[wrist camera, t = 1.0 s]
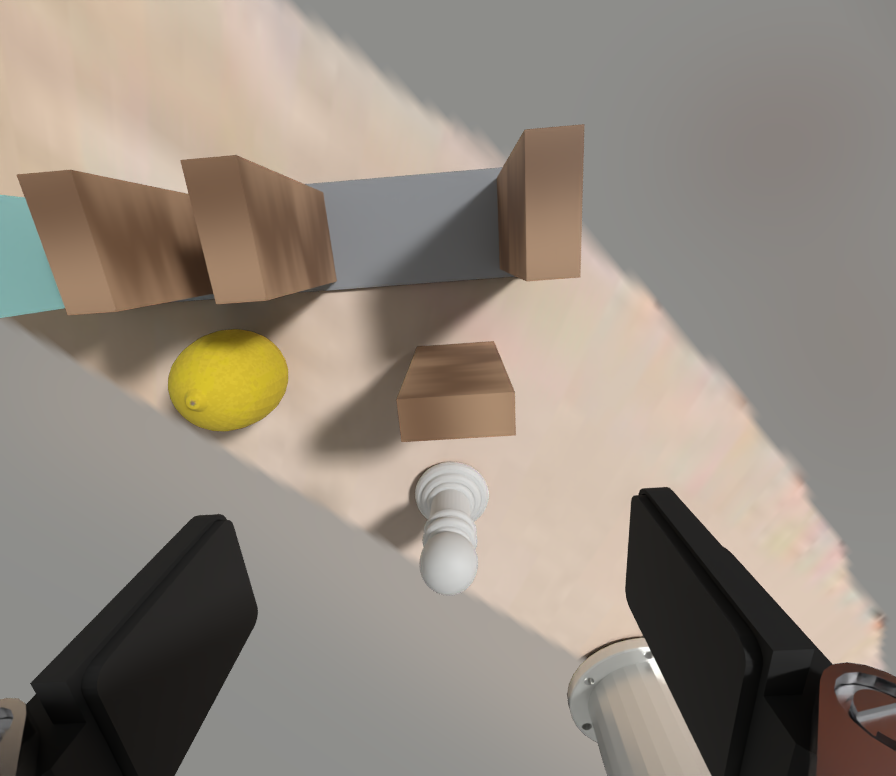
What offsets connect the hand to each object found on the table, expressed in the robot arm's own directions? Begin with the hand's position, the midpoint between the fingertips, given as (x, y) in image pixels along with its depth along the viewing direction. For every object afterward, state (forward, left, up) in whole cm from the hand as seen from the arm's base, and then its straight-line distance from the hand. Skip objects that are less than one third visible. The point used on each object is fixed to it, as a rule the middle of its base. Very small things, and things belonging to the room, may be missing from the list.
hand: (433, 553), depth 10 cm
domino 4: (+8, -5, -18) cm, 20 cm away
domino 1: (+8, +13, -18) cm, 24 cm away
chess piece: (-10, 0, -19) cm, 21 cm away
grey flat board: (+8, +8, -18) cm, 22 cm away
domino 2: (+8, +7, -18) cm, 21 cm away
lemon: (+1, +12, -19) cm, 22 cm away
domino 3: (0, -1, -18) cm, 19 cm away
